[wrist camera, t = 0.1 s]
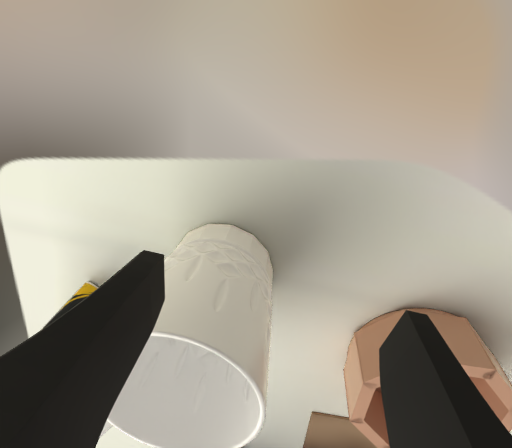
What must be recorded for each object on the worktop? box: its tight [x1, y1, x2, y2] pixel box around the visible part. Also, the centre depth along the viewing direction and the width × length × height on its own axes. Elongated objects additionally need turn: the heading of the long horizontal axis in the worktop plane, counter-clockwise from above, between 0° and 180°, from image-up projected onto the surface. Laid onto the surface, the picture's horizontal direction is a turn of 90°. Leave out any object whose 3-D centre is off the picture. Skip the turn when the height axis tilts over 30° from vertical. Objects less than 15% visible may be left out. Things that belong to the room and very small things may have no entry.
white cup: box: [107, 224, 273, 448], centre depth 18 cm, size 8×8×10 cm
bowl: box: [343, 308, 512, 448], centre depth 22 cm, size 9×9×4 cm
